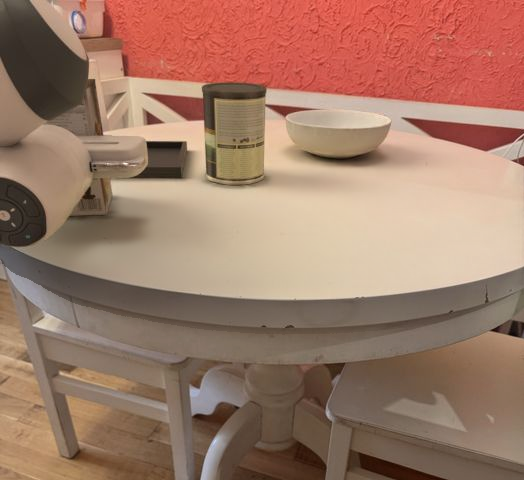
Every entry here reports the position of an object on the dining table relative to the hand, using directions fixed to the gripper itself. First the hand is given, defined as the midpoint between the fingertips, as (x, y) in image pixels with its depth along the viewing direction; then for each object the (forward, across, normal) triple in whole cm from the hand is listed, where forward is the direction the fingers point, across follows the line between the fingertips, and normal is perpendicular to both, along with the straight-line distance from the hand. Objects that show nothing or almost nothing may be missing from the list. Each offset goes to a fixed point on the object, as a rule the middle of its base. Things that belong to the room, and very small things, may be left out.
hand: (78, 140), depth 69 cm
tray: (+23, -4, +9) cm, 25 cm away
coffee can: (+14, -22, +9) cm, 28 cm away
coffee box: (-1, 0, +9) cm, 9 cm away
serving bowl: (+31, -43, +9) cm, 54 cm away
